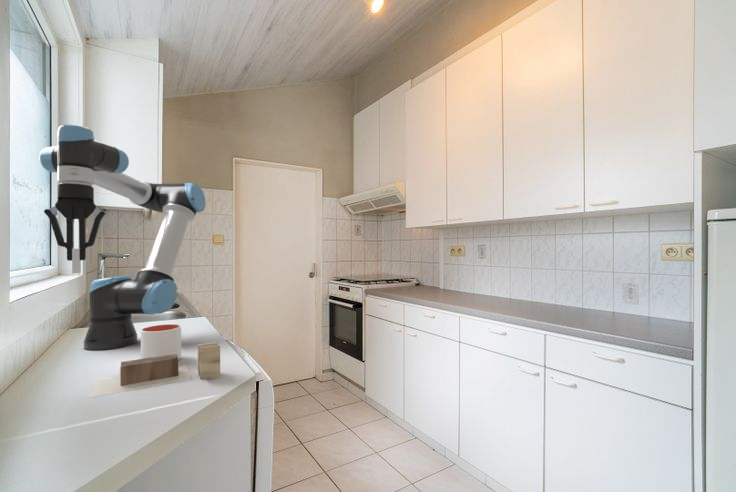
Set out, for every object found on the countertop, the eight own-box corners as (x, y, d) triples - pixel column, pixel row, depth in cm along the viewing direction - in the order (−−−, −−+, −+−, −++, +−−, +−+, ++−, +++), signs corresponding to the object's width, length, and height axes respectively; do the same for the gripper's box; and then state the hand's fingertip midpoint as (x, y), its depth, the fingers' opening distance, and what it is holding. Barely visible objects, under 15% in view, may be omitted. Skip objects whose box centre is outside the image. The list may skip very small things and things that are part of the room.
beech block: (198, 375, 92) (197, 344, 92) (216, 372, 95) (216, 341, 95) (200, 381, 88) (200, 348, 89) (220, 377, 91) (220, 345, 91)
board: (95, 381, 89) (95, 379, 89) (186, 366, 100) (186, 364, 100) (89, 399, 78) (89, 397, 78) (191, 380, 89) (191, 378, 89)
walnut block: (121, 361, 89) (176, 353, 95) (121, 380, 89) (176, 370, 95) (120, 366, 85) (178, 357, 91) (120, 386, 85) (178, 375, 91)
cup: (188, 357, 108) (188, 324, 108) (166, 368, 98) (166, 331, 98) (156, 357, 109) (156, 324, 109) (132, 368, 99) (131, 331, 99)
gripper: (40, 180, 90) (40, 274, 90) (105, 184, 97) (105, 272, 97) (46, 184, 96) (47, 273, 96) (107, 188, 103) (107, 271, 103)
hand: (76, 272), depth 97 cm, fingers closed
